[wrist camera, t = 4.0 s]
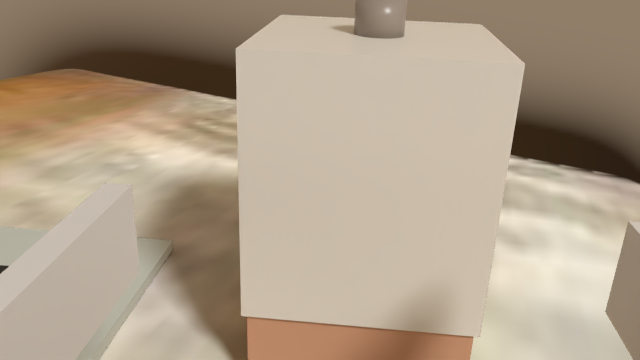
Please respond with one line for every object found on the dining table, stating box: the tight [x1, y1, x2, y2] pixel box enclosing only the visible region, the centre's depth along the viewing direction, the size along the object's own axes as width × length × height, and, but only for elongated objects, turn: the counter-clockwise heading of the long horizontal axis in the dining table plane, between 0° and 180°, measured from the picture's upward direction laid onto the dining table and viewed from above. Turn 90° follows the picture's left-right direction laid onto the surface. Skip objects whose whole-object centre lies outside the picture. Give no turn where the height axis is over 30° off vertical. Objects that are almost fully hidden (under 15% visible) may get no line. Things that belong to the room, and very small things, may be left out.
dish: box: [247, 317, 473, 360], centre depth 28 cm, size 9×9×4 cm
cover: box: [236, 0, 525, 337], centre depth 26 cm, size 9×9×13 cm
